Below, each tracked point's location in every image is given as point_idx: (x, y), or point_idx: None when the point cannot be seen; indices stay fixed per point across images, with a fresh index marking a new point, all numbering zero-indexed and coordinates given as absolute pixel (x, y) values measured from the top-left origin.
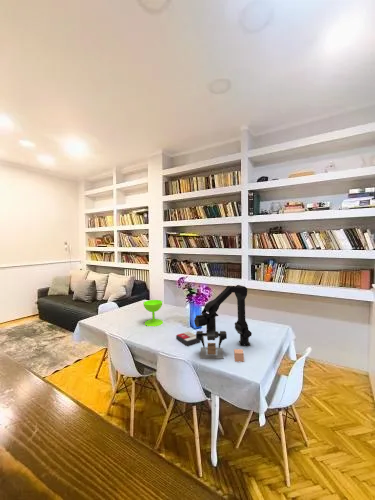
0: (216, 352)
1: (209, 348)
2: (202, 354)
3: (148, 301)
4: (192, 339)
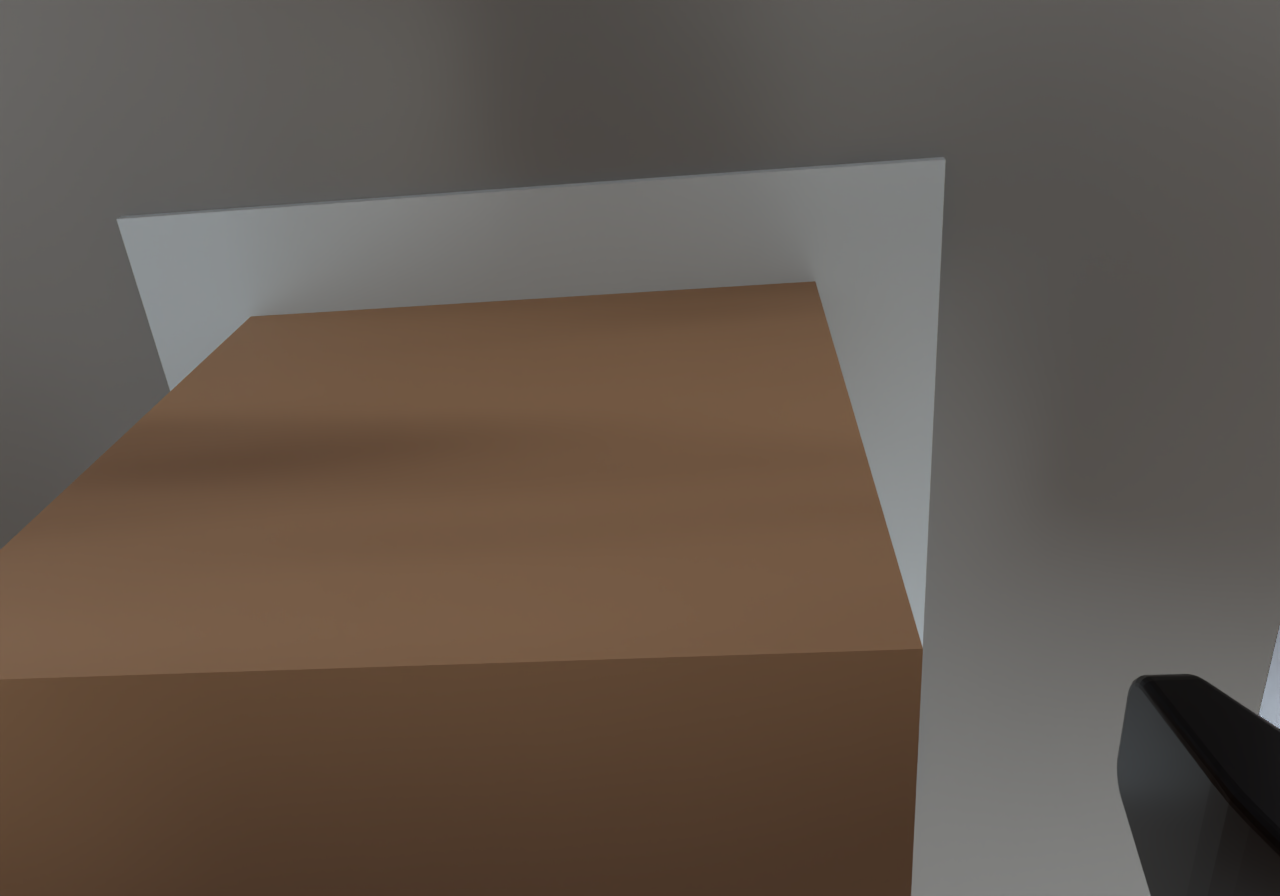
0: None
1: (661, 508)
2: (1204, 233)
3: None
4: None
